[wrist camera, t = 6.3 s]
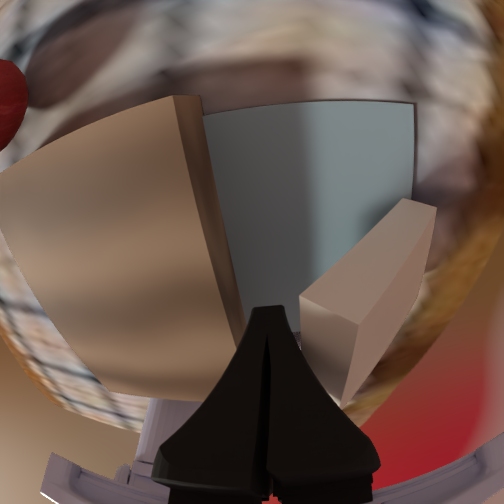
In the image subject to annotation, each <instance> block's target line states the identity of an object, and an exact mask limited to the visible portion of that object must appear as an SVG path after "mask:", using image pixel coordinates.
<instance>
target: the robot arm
mask: <svg viewBox="0 0 504 504" xmlns="http://www.w3.org/2000/svg"><path fill="white" fill-rule="evenodd" d="M380 466H381V464H380V459H379V456H378V453H377V452H376V449H375V447H374V445H373V443H372V441H371V440H370V439H369V437H368V436H367V435H365V434H364V433H363V432H362V431H361V430H360V429H359V428H358V427H357V426H356V425H355V424H354V423H353V422H352V421H351V420H350V419H349V418H348V416H347V415H346V414H345V413H344V412H343V411H342V410H341V409H340V407H339V406H338V405H337V404H336V403H335V401H334V400H333V399H332V398H331V396H330V395H329V394H328V393H327V391H326V390H325V389H324V387H323V386H322V384H321V383H320V382H319V380H318V379H317V377H316V376H315V374H314V373H313V371H312V369H311V368H310V366H309V364H308V363H307V361H306V359H305V357H304V356H303V354H302V352H301V350H300V348H299V346H298V344H297V342H296V340H295V338H294V335H293V333H292V331H291V328H290V326H289V323H288V320H287V317H286V313H285V307H284V306H283V305H272V306H261V307H254V308H253V309H252V311H251V315H250V318H249V321H248V324H247V326H246V329H245V332H244V334H243V336H242V339H241V341H240V343H239V345H238V347H237V350H236V352H235V354H234V355H233V357H232V359H231V361H230V363H229V365H228V366H227V368H226V370H225V372H224V373H223V375H222V376H221V378H220V380H219V381H218V383H217V384H216V386H215V387H214V388H213V390H212V391H211V392H210V394H209V395H208V396H207V398H206V399H205V400H204V402H199V401H182V400H169V399H159V398H150V401H149V405H148V408H147V412H146V416H145V420H144V424H143V428H142V431H141V436H140V440H139V444H138V448H137V452H136V456H135V460H134V461H133V465H132V469H131V470H130V465H128V464H124V465H123V466H120V467H118V468H117V471H116V475H115V479H114V480H112V479H109V478H107V477H104V476H101V475H99V474H96V473H93V472H91V471H89V470H86V469H84V468H81V467H80V466H79V465H77V464H75V463H73V462H71V461H69V460H67V459H65V458H63V457H61V456H59V455H57V454H55V453H53V452H52V453H51V455H50V458H49V461H48V465H47V468H46V471H45V475H44V479H43V482H42V486H41V490H40V492H41V494H43V495H44V496H46V497H47V498H49V499H50V500H52V501H54V502H55V503H57V504H262V501H269V496H270V495H271V494H272V493H273V497H278V501H279V502H281V503H282V504H379V503H381V504H482V503H483V502H485V501H486V500H487V499H489V498H490V497H492V496H493V495H494V494H496V493H497V492H498V491H500V490H501V489H502V488H504V432H503V433H501V434H499V435H498V436H496V437H495V438H493V439H492V440H490V441H489V442H487V443H485V444H483V445H482V446H481V447H479V448H477V449H476V450H475V451H474V452H472V453H470V454H468V455H466V456H464V457H462V458H460V459H458V460H456V461H454V462H452V463H450V464H448V465H446V466H443V467H441V468H439V469H436V470H434V471H432V472H429V473H426V474H424V475H421V476H419V477H416V478H413V479H410V480H407V481H405V482H401V483H398V484H395V485H392V486H388V487H385V488H381V489H378V490H374V491H372V486H371V483H373V477H372V473H374V472H375V471H377V470H378V469H379V468H380Z"/></svg>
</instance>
